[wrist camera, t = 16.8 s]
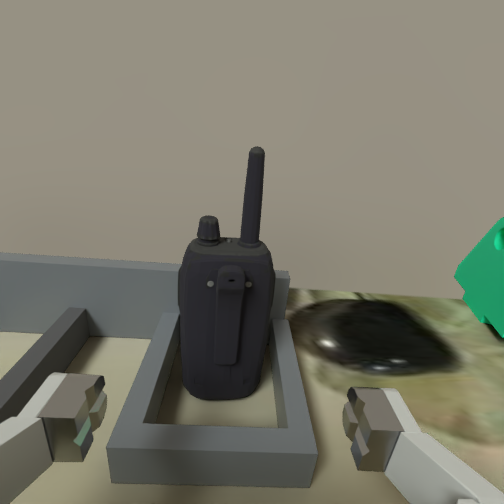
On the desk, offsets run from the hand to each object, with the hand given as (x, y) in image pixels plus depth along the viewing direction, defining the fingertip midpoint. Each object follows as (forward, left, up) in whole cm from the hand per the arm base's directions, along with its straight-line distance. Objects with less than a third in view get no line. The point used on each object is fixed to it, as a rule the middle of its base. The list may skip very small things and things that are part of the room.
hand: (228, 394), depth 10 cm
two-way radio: (0, +7, -8) cm, 11 cm away
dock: (-8, +7, -8) cm, 13 cm away
